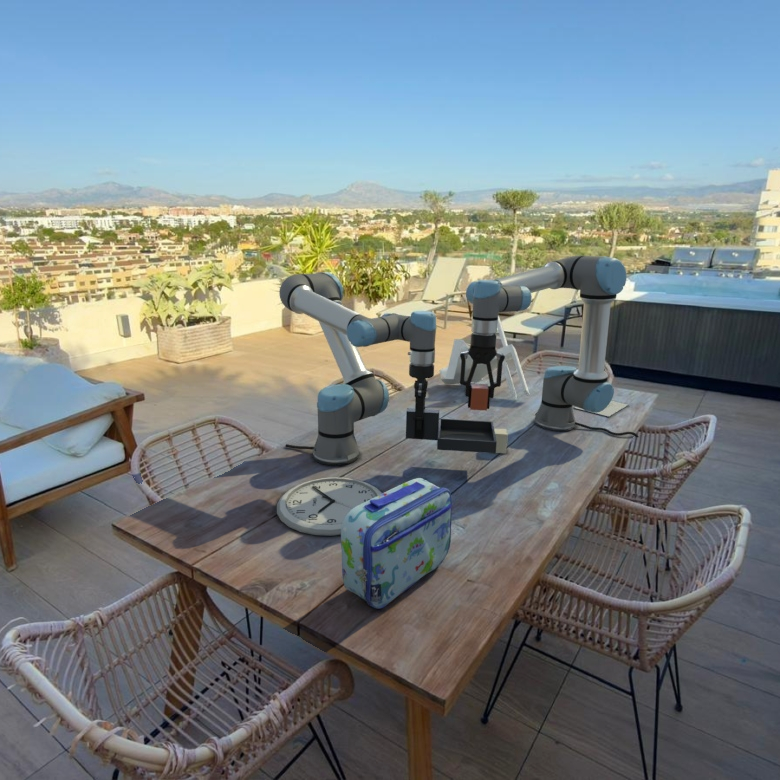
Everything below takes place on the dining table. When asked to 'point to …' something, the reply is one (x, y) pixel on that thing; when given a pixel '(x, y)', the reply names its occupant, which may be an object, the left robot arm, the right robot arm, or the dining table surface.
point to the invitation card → (610, 408)
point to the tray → (454, 432)
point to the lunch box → (395, 540)
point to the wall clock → (323, 504)
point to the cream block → (501, 440)
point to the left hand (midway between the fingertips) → (419, 435)
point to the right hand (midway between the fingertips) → (478, 406)
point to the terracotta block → (479, 397)
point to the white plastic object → (454, 369)
